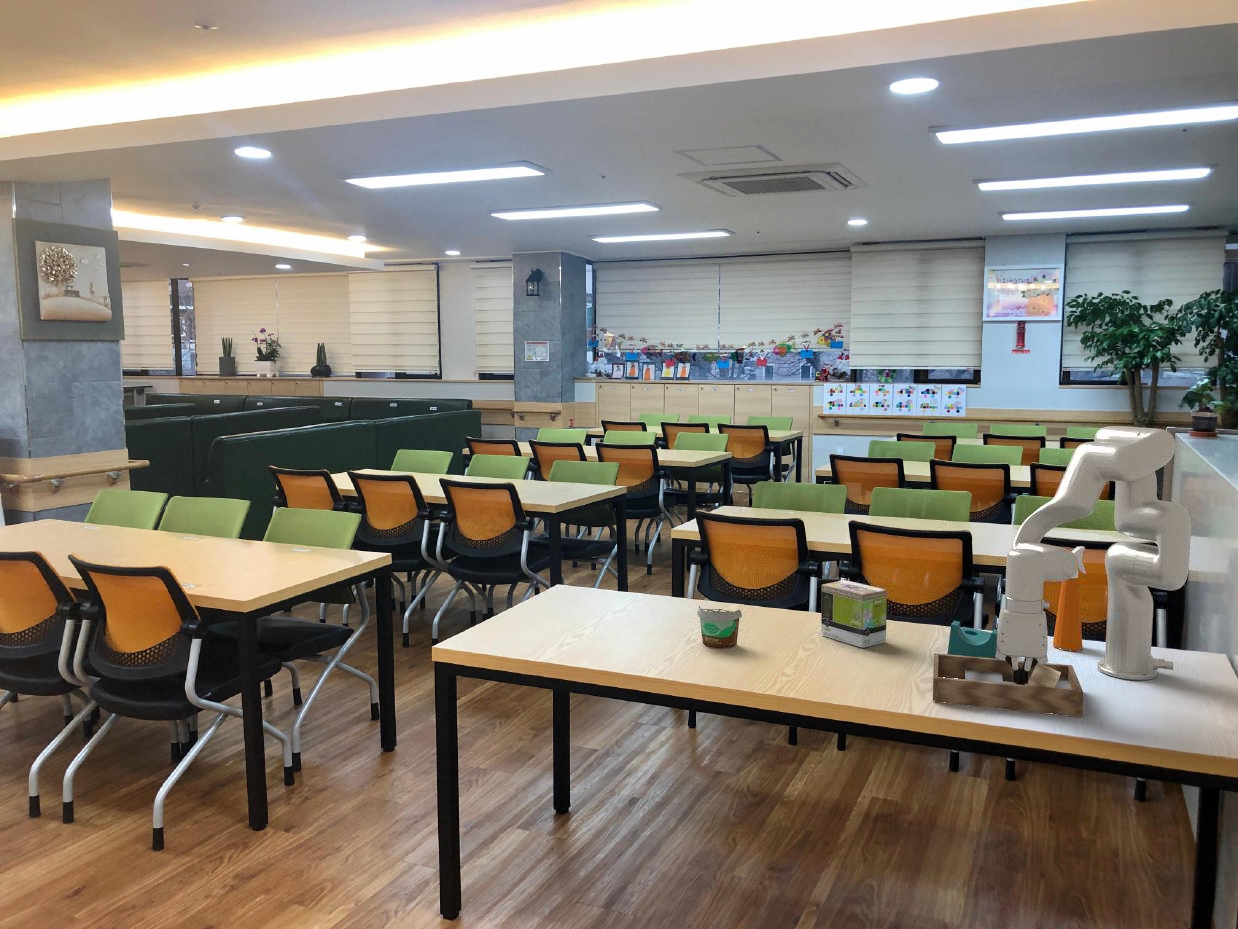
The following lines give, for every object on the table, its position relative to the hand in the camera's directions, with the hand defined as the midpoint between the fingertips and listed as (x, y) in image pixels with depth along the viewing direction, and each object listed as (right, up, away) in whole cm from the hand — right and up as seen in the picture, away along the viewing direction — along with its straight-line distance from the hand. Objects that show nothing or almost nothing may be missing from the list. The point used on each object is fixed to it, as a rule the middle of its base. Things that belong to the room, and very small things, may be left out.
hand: (1020, 686), depth 203 cm
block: (+3, 0, -2) cm, 4 cm away
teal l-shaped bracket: (+2, -1, +30) cm, 30 cm away
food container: (-63, 0, +43) cm, 76 cm away
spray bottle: (+30, +1, +38) cm, 49 cm away
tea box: (-25, +1, +47) cm, 54 cm away
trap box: (-2, -3, +4) cm, 6 cm away
